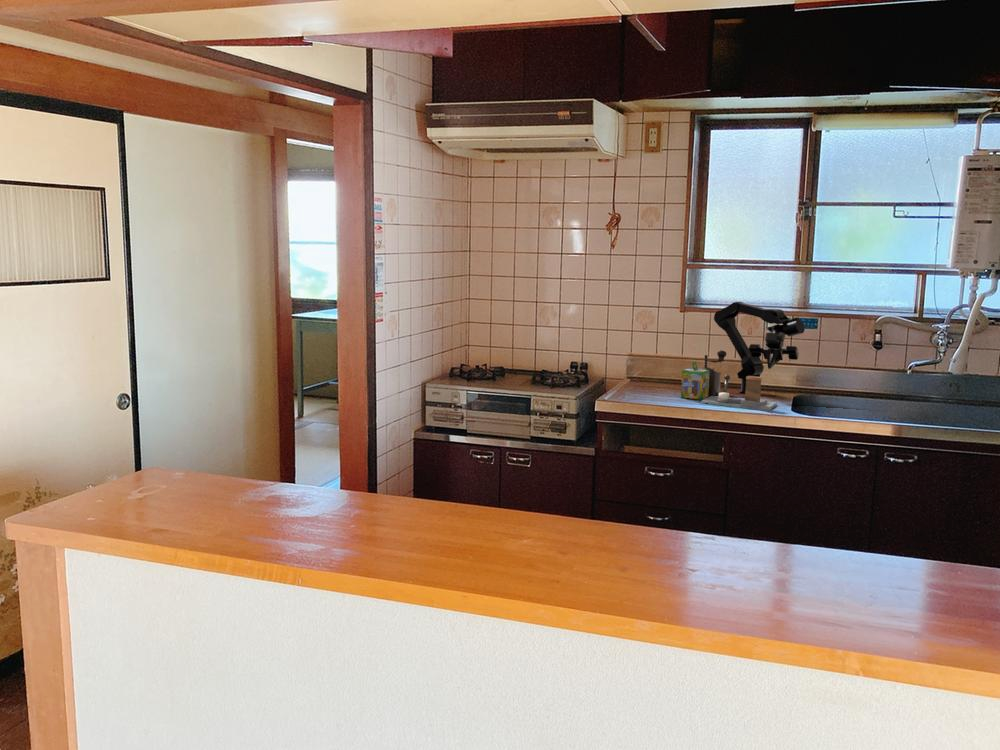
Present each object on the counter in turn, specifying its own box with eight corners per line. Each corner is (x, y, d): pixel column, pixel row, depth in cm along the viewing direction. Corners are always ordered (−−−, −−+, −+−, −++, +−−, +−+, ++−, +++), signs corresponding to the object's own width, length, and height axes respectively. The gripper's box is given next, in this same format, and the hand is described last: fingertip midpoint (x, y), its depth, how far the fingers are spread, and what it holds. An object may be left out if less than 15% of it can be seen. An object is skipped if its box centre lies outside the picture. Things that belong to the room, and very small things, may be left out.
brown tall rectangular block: (746, 403, 331) (748, 375, 330) (760, 404, 329) (761, 377, 327) (744, 404, 328) (746, 376, 327) (758, 405, 326) (759, 378, 324)
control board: (711, 398, 347) (711, 387, 347) (776, 405, 334) (777, 394, 334) (700, 403, 335) (701, 392, 334) (768, 410, 322) (769, 399, 322)
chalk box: (702, 400, 341) (704, 364, 339) (680, 398, 346) (681, 362, 344) (709, 397, 349) (711, 361, 347) (687, 395, 354) (689, 359, 352)
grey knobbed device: (713, 397, 350) (716, 353, 347) (688, 394, 356) (690, 351, 353) (725, 392, 363) (728, 350, 360) (700, 389, 369) (702, 348, 366)
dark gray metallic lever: (722, 394, 341) (725, 375, 343) (727, 394, 340) (731, 376, 342) (721, 392, 339) (724, 373, 341) (726, 393, 338) (729, 374, 340)
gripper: (750, 324, 347) (742, 354, 339) (798, 326, 337) (790, 356, 329) (755, 341, 354) (747, 371, 347) (801, 343, 345) (794, 374, 337)
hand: (769, 368), depth 340 cm, fingers closed
